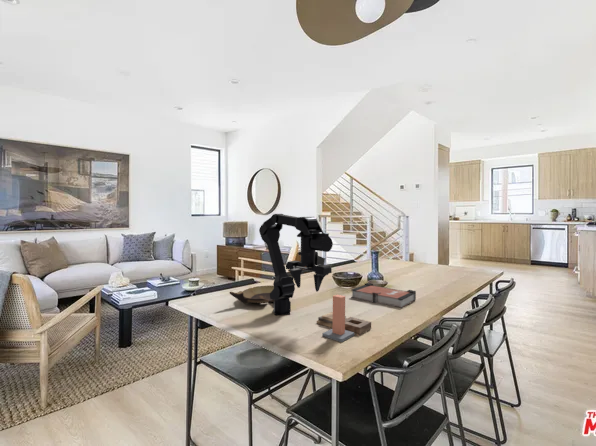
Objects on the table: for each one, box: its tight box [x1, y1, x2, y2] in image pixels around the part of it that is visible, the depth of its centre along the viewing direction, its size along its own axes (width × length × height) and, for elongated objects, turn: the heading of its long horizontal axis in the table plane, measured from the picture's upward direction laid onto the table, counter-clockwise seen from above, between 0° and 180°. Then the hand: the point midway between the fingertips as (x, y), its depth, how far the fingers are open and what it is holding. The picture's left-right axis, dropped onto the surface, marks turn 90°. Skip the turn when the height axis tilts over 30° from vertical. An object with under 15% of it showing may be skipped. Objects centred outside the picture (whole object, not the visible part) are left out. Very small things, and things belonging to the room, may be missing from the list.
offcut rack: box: [316, 311, 372, 335], centre depth 126 cm, size 19×10×3 cm, turn 49°
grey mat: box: [322, 328, 355, 343], centre depth 115 cm, size 8×8×1 cm
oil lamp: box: [229, 285, 274, 304], centre depth 158 cm, size 22×30×8 cm
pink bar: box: [331, 294, 346, 335], centre depth 115 cm, size 4×2×13 cm
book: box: [350, 282, 417, 309], centre depth 164 cm, size 26×18×5 cm
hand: (307, 289), depth 128 cm, fingers open, 9 cm apart
